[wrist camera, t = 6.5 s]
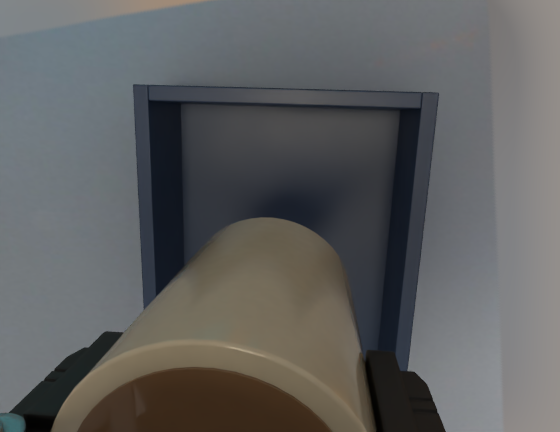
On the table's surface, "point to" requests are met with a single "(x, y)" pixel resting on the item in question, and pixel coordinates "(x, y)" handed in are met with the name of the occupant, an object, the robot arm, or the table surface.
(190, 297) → the cup
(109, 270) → the table surface
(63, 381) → the robot arm
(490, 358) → the table surface
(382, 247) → the navy tray
